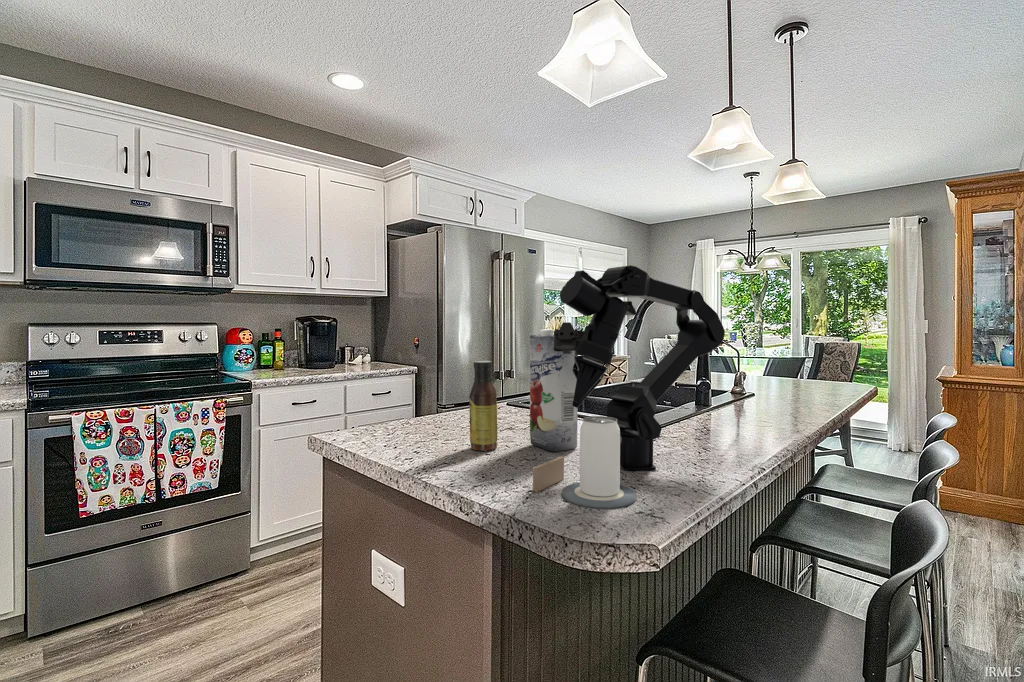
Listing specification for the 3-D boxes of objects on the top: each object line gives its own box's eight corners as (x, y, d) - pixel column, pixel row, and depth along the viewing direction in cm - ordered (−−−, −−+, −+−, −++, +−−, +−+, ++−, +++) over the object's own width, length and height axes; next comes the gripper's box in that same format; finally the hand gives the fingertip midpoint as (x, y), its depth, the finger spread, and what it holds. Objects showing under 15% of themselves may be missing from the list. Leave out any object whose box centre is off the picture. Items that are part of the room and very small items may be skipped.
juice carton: (556, 440, 126) (556, 328, 125) (583, 449, 117) (583, 329, 116) (524, 444, 122) (524, 328, 121) (550, 454, 113) (550, 329, 112)
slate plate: (625, 483, 92) (625, 480, 92) (646, 507, 80) (646, 503, 80) (557, 484, 91) (557, 481, 91) (568, 509, 79) (568, 505, 79)
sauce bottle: (477, 444, 122) (477, 359, 121) (502, 446, 120) (501, 360, 119) (464, 450, 116) (464, 361, 115) (489, 453, 114) (489, 362, 113)
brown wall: (560, 478, 95) (560, 456, 95) (563, 479, 95) (563, 457, 95) (533, 491, 88) (532, 467, 88) (536, 492, 88) (536, 468, 87)
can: (600, 501, 81) (601, 424, 81) (571, 490, 86) (571, 418, 86) (628, 492, 85) (628, 419, 85) (598, 483, 90) (598, 414, 90)
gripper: (564, 325, 109) (536, 394, 106) (564, 297, 91) (531, 380, 88) (615, 343, 107) (588, 414, 104) (626, 319, 89) (594, 405, 86)
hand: (575, 404), depth 96 cm, fingers open, 9 cm apart
